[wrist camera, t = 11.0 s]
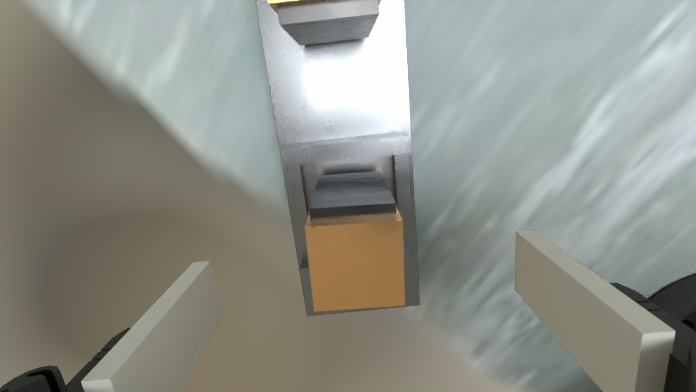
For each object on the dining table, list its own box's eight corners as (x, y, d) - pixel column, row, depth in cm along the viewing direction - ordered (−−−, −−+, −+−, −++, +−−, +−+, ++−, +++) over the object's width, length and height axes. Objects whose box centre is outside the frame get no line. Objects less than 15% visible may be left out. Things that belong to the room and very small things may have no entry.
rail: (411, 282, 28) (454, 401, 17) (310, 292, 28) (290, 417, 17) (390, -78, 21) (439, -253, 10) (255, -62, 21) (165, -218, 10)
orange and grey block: (384, 234, 23) (404, 305, 15) (323, 238, 23) (313, 311, 15) (381, 165, 22) (402, 206, 14) (317, 170, 22) (303, 213, 14)
